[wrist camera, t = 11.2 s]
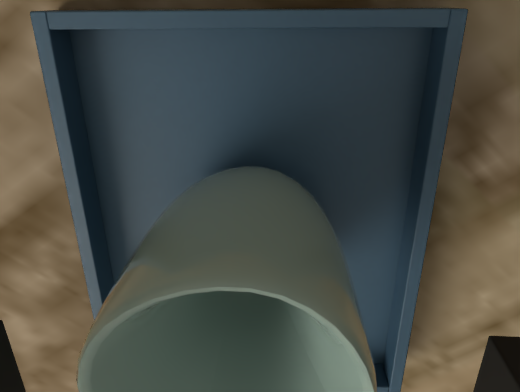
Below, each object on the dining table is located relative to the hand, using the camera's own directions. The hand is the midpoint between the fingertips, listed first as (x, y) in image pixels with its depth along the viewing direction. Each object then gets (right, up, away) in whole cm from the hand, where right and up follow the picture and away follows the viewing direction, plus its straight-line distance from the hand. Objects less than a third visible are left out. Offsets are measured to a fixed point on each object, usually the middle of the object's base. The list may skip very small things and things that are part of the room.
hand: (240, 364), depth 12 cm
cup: (0, +4, +8) cm, 9 cm away
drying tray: (0, +4, +9) cm, 9 cm away
